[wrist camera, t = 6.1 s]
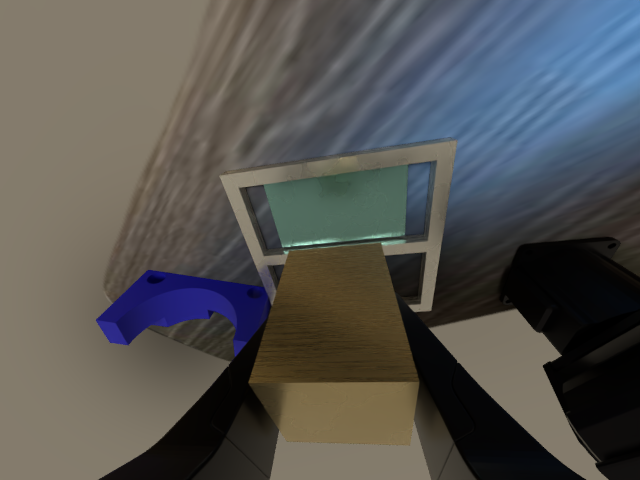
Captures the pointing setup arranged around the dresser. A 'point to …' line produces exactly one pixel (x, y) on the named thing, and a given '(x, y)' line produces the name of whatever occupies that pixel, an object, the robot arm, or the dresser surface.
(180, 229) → the dresser surface
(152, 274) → the cable clip
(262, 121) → the dresser surface
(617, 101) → the dresser surface
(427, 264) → the grey divided frame
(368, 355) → the yellow rectangular block
